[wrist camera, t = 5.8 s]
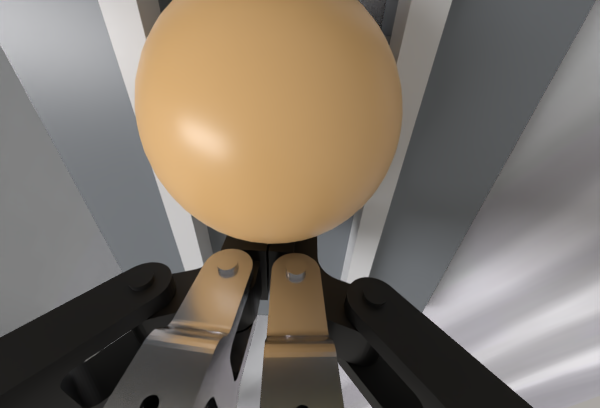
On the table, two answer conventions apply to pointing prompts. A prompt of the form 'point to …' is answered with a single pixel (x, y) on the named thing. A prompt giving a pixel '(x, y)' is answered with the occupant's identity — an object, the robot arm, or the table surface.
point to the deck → (402, 172)
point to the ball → (268, 113)
